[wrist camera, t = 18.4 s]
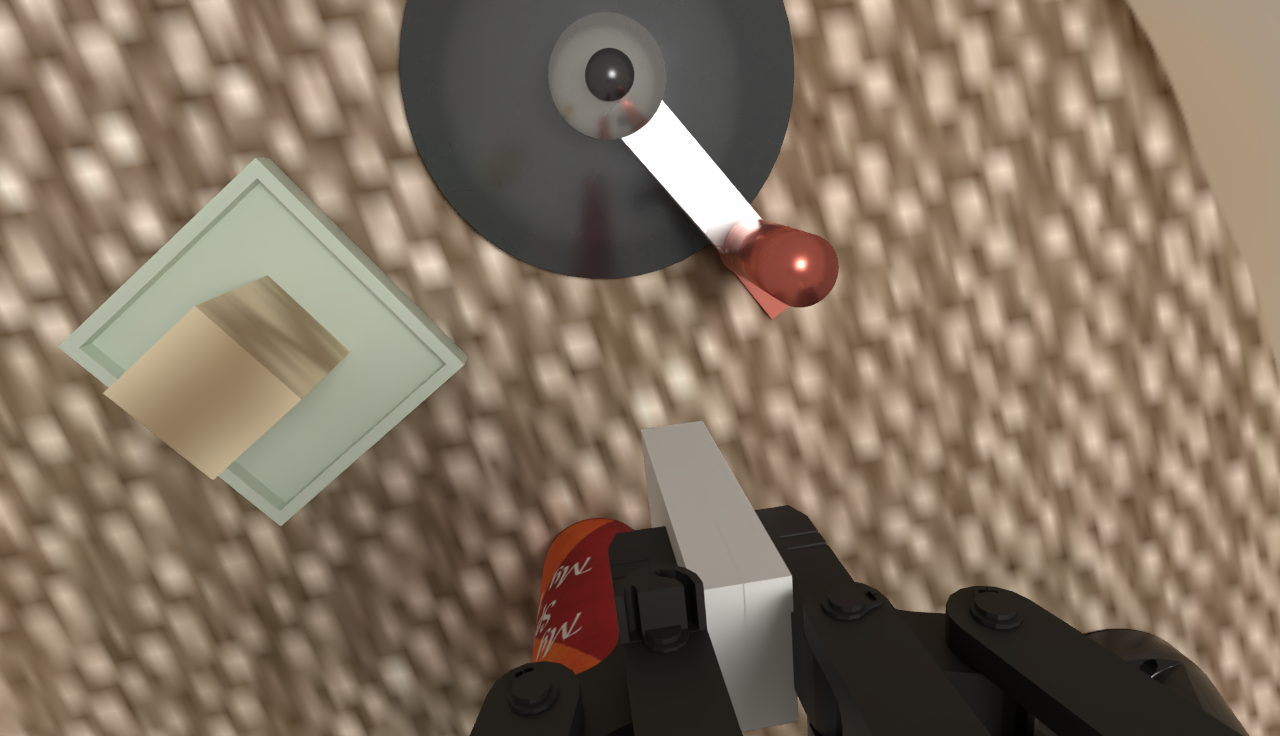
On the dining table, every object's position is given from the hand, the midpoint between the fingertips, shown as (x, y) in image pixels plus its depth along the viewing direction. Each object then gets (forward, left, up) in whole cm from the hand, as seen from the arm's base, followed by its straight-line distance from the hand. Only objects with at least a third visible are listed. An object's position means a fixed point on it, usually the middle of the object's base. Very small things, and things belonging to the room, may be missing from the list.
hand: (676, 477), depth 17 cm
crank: (+4, -7, -19) cm, 20 cm away
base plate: (+8, -7, -20) cm, 22 cm away
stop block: (+9, +13, -19) cm, 25 cm away
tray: (+9, +13, -20) cm, 25 cm away
